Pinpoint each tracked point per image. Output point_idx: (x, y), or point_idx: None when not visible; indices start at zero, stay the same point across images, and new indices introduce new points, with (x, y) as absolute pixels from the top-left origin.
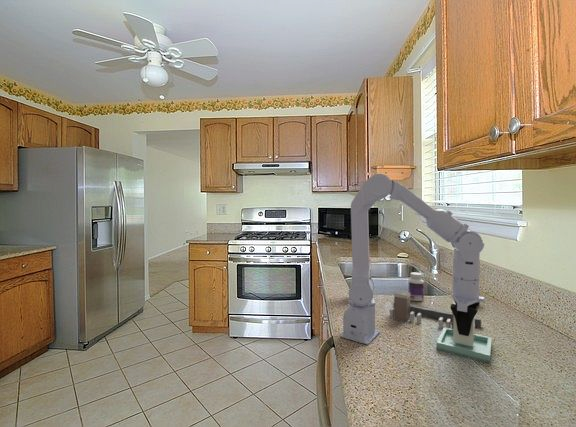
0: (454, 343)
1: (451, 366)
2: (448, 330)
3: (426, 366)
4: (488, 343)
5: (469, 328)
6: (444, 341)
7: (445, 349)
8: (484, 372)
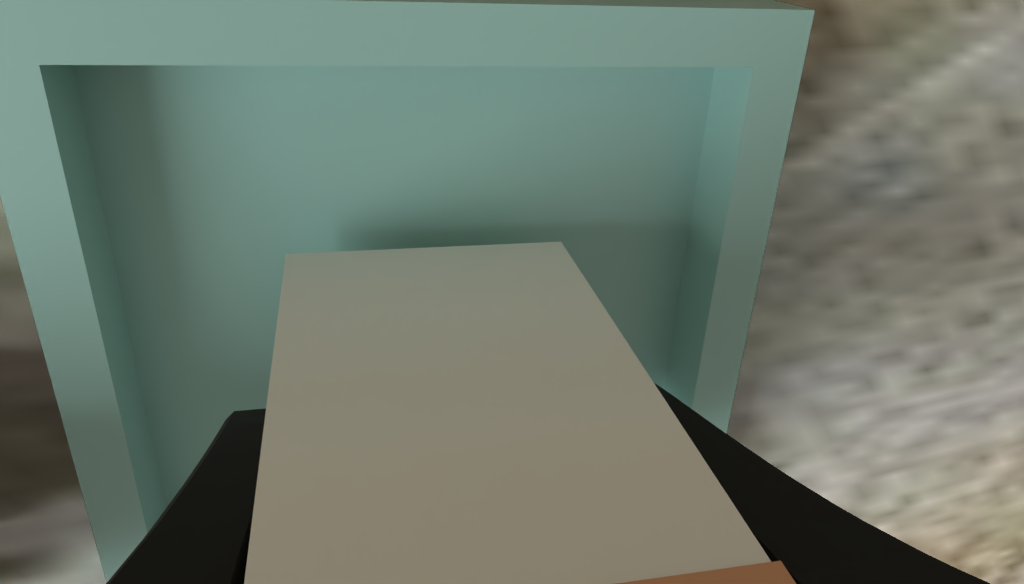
0: None
1: (959, 332)
2: None
3: (1014, 476)
4: (332, 45)
5: (741, 457)
6: None
7: None
8: (991, 45)
